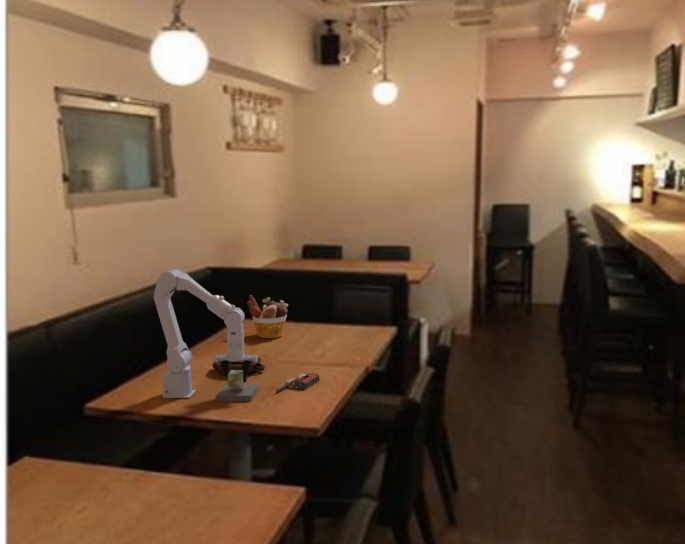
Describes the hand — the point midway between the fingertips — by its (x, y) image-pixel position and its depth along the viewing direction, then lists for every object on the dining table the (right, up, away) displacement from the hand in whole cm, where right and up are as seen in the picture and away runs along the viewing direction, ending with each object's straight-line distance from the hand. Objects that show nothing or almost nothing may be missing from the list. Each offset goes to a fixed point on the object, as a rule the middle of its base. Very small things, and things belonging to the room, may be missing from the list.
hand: (237, 381), depth 231 cm
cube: (0, -2, 0) cm, 2 cm away
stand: (0, -5, +1) cm, 5 cm away
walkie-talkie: (+21, -4, +10) cm, 23 cm away
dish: (-4, -1, +30) cm, 30 cm away
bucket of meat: (+1, +7, +87) cm, 87 cm away
